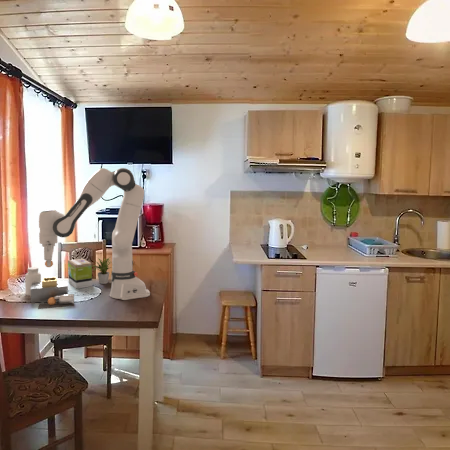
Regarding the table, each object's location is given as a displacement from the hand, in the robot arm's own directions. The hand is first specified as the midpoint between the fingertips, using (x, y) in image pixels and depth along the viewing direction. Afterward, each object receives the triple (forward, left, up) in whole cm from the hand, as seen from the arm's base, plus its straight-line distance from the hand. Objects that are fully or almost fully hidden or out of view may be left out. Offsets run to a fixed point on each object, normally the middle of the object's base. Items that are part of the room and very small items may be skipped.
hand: (49, 265), depth 216 cm
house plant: (-30, -26, -19) cm, 44 cm away
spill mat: (-4, +12, -19) cm, 23 cm away
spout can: (-7, +13, -18) cm, 24 cm away
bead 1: (0, 0, -1) cm, 1 cm away
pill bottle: (+9, -11, -19) cm, 24 cm away
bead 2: (-1, +12, -18) cm, 22 cm away
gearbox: (0, 0, -19) cm, 19 cm away
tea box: (-16, -24, -19) cm, 35 cm away
